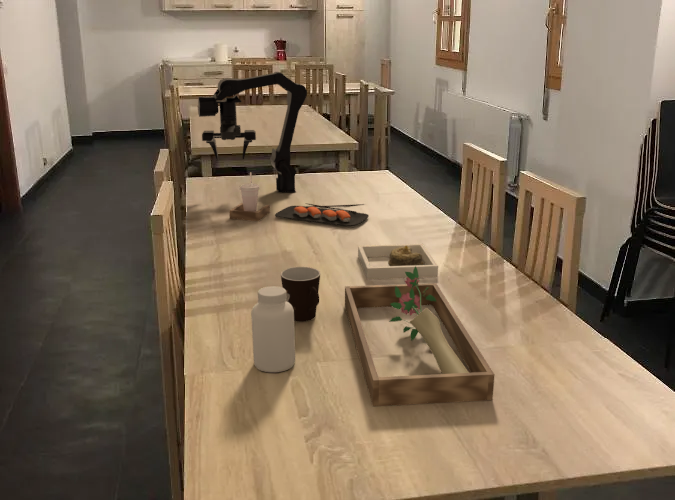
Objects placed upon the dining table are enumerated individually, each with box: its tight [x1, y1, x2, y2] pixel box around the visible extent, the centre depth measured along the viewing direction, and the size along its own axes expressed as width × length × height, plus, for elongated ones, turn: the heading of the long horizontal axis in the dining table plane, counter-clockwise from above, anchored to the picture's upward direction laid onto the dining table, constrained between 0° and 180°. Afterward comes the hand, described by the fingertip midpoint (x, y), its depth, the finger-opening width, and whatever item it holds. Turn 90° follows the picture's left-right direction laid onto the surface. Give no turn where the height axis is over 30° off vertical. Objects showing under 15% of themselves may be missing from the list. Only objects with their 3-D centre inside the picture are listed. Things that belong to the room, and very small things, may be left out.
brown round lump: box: [387, 245, 426, 266], centre depth 189 cm, size 10×10×5 cm
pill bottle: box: [250, 285, 296, 373], centre depth 134 cm, size 8×8×15 cm
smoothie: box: [239, 172, 260, 212], centre depth 231 cm, size 6×6×14 cm
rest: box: [228, 202, 271, 222], centre depth 232 cm, size 10×10×3 cm
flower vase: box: [388, 266, 470, 374], centre depth 140 cm, size 12×12×35 cm
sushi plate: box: [274, 203, 369, 227], centre depth 237 cm, size 29×30×4 cm
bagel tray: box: [357, 243, 439, 281], centre depth 187 cm, size 18×18×3 cm
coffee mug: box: [280, 266, 321, 323], centre depth 154 cm, size 12×9×10 cm
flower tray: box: [344, 282, 495, 407], centre depth 142 cm, size 21×43×5 cm, turn 6°
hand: (230, 159), depth 255 cm, fingers open, 9 cm apart
